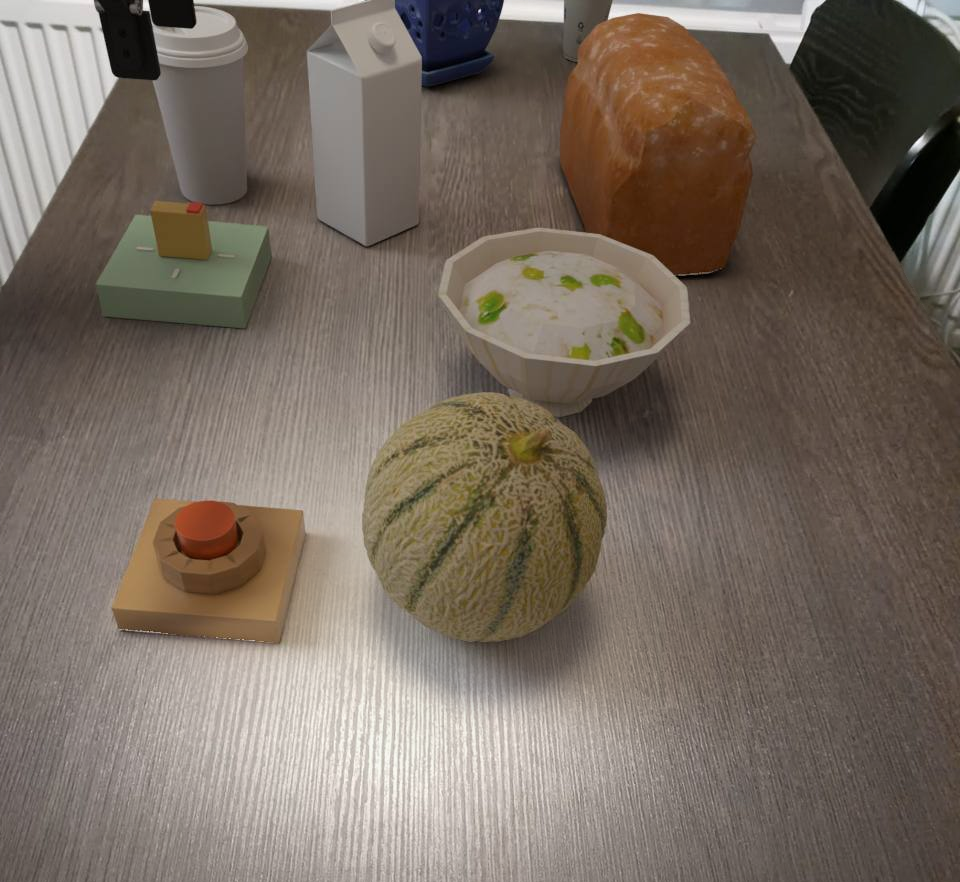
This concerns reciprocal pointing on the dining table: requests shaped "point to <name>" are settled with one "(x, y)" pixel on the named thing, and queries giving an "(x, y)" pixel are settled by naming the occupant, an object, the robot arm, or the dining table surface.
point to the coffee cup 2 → (581, 22)
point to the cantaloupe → (484, 517)
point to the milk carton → (366, 122)
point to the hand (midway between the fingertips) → (157, 50)
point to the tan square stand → (213, 577)
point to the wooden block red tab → (181, 230)
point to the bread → (656, 143)
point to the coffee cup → (204, 105)
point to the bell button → (206, 530)
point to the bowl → (562, 312)
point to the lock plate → (186, 277)
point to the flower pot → (450, 35)
